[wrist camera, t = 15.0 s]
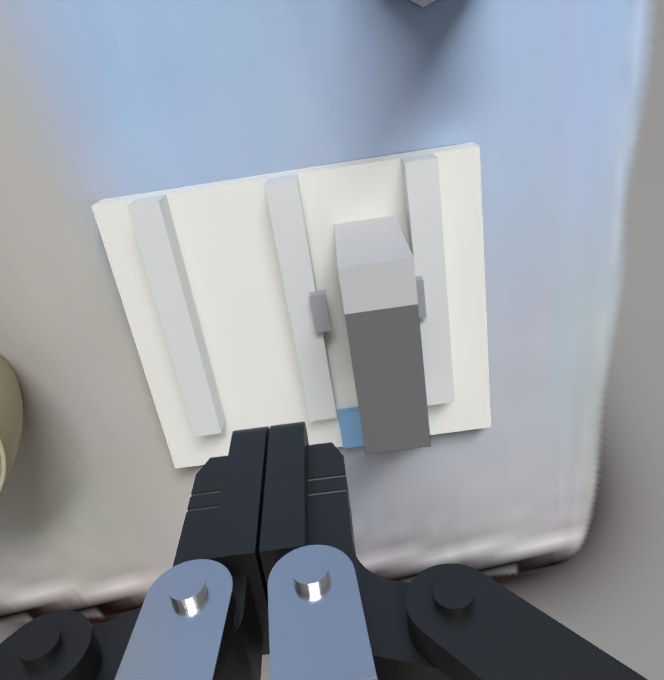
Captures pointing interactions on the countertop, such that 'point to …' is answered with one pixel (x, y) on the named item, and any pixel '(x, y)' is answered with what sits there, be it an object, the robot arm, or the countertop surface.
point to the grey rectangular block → (383, 333)
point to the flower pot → (9, 419)
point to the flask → (423, 2)
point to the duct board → (295, 295)
